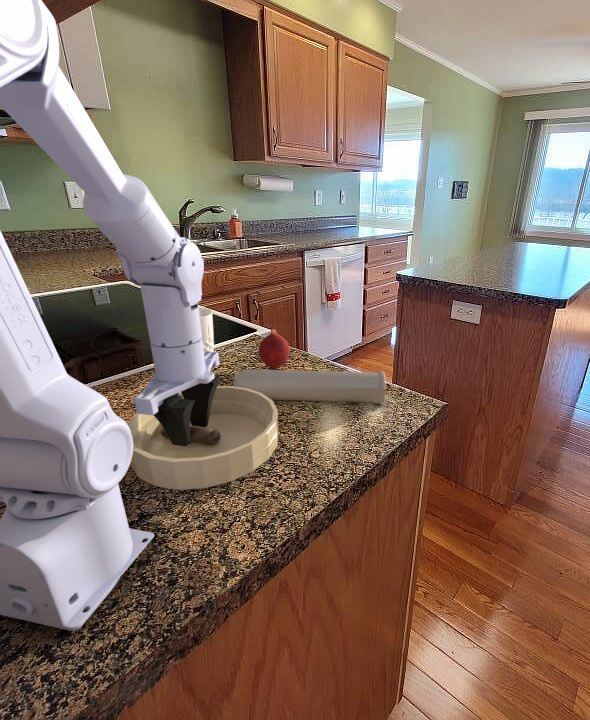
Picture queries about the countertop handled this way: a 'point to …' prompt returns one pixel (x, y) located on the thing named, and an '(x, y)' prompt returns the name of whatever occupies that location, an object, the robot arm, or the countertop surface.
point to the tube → (314, 385)
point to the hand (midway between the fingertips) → (190, 434)
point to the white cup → (207, 329)
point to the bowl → (202, 461)
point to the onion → (274, 350)
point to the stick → (199, 435)
